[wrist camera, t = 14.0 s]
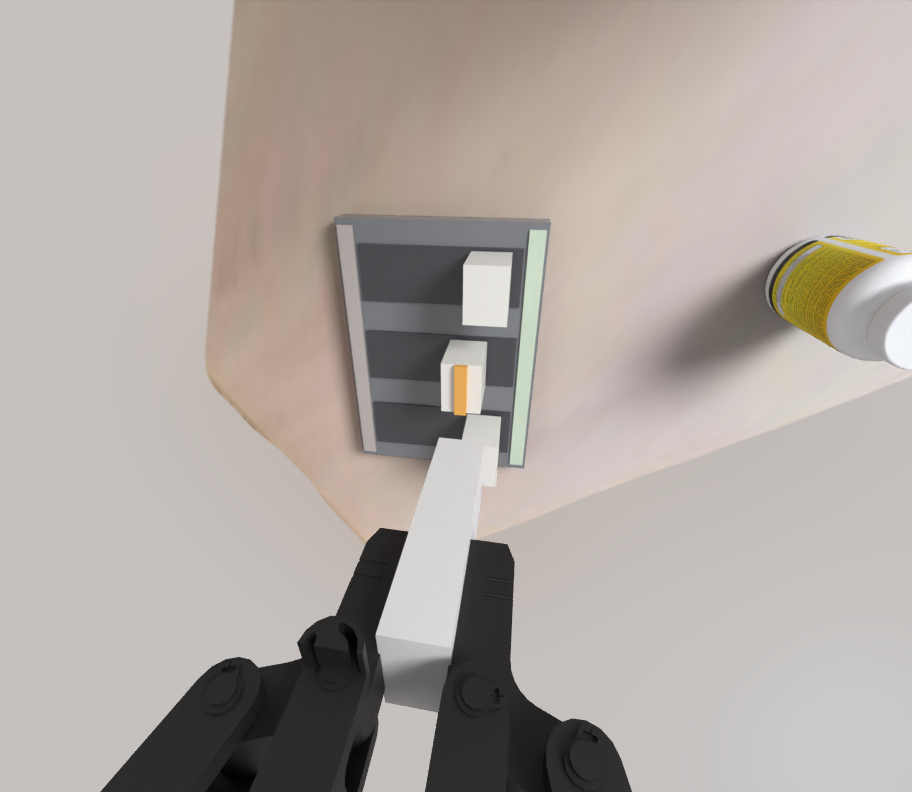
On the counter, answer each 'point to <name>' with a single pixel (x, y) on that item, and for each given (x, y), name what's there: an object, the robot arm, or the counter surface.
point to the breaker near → (486, 288)
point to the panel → (436, 326)
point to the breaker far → (488, 432)
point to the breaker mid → (463, 377)
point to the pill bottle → (847, 296)
